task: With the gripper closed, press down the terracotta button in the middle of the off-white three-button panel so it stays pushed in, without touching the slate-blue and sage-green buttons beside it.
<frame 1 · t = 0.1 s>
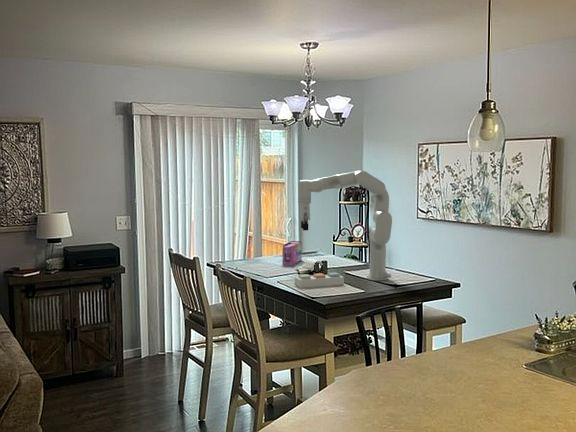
hand: (304, 229, 337), 31 cm above the table, tool pointing down, fingers open, 9 cm apart
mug: (311, 272, 366), on the table
slate button: (333, 275, 331), point 5 cm above the table, slide at 0.0 cm
gum box: (292, 262, 401), on the table
button panel: (319, 284, 329), on the table
sage button: (304, 277, 326), point 5 cm above the table, slide at 0.0 cm
terracotta button: (319, 276, 328), point 4 cm above the table, slide at 0.0 cm
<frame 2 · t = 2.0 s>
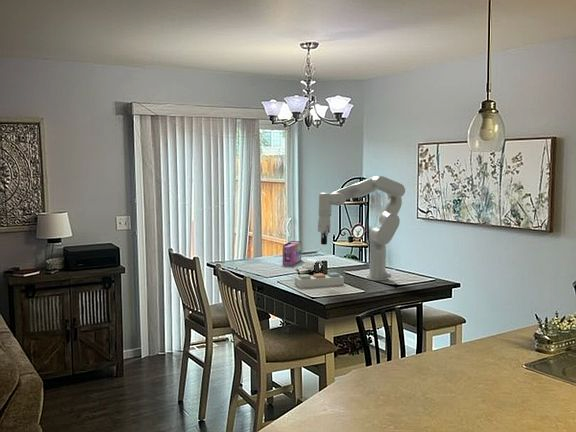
hand: (323, 244, 335), 22 cm above the table, tool pointing down, fingers closed
nothing on the table moved.
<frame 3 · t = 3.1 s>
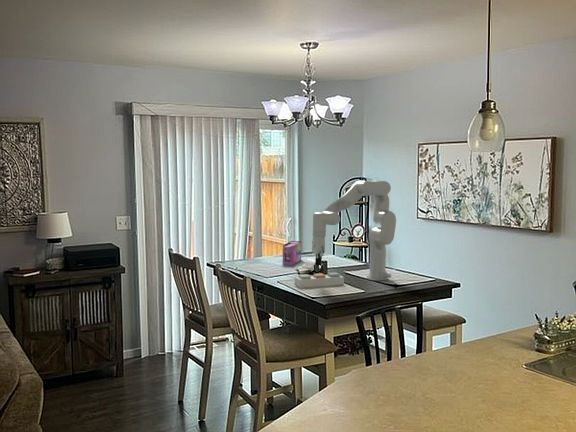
hand: (318, 265, 327), 12 cm above the table, tool pointing down, fingers closed
nothing on the table moved.
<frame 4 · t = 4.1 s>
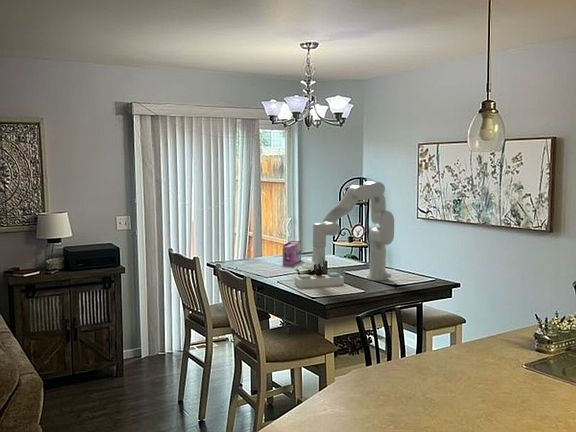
hand: (318, 275, 328), 5 cm above the table, tool pointing down, fingers closed
terracotta button: (319, 277, 328), point 4 cm above the table, slide at 0.6 cm, touching gripper
everything else where it was.
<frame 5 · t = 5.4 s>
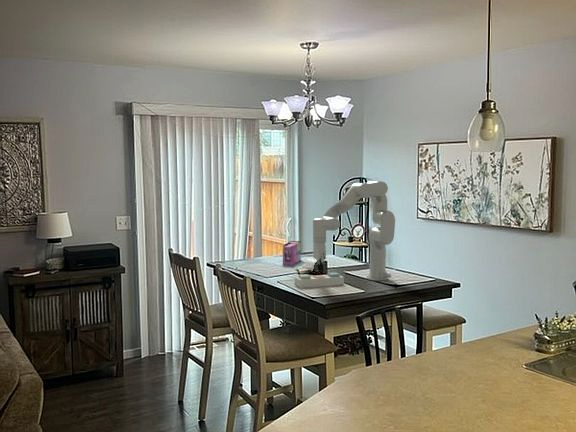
hand: (320, 270, 328), 8 cm above the table, tool pointing down, fingers closed
terracotta button: (319, 279, 328), point 3 cm above the table, slide at 1.2 cm
everything else where it was.
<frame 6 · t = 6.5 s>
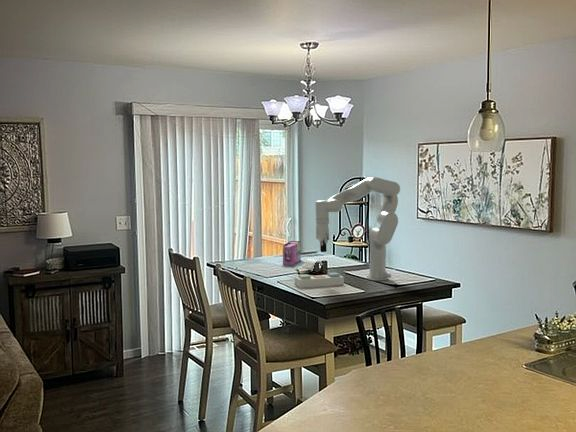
hand: (323, 251, 335), 18 cm above the table, tool pointing down, fingers closed
nothing on the table moved.
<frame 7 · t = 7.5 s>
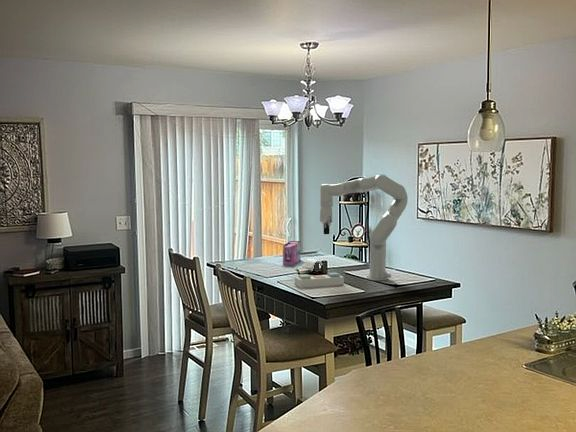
hand: (326, 233, 346), 27 cm above the table, tool pointing down, fingers closed
nothing on the table moved.
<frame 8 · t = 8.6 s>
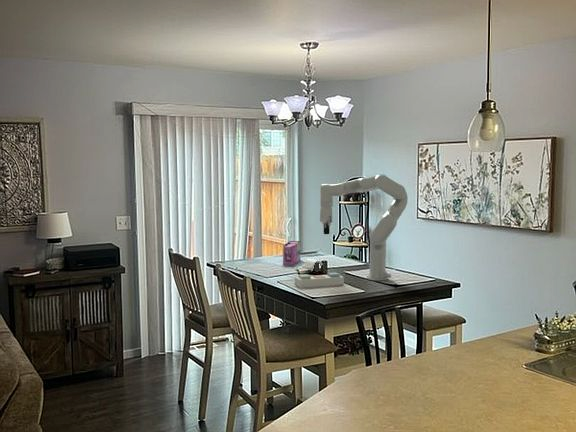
hand: (326, 233, 346), 27 cm above the table, tool pointing down, fingers closed
nothing on the table moved.
at the end: terracotta button slide at 1.2 cm; slate button slide at 0.0 cm; sage button slide at 0.0 cm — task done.
